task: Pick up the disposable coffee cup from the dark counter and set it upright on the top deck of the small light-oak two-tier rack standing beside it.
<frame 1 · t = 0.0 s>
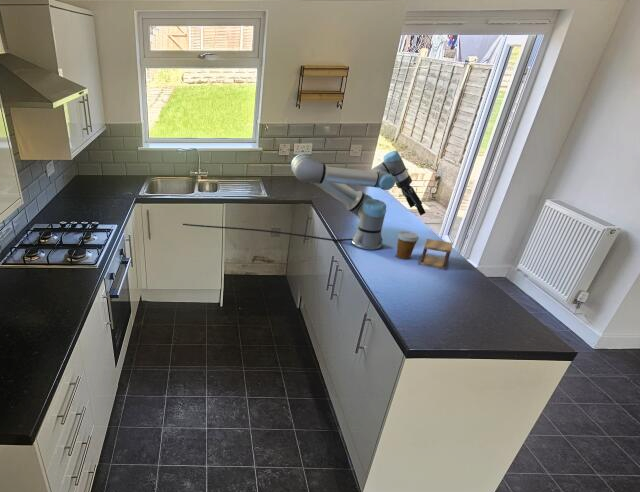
hand: (417, 210, 238), 15 cm above the countertop, tool tilted 35°, fingers open, 13 cm apart
disposable coffee cup: (402, 257, 221), on the countertop
oak rack: (433, 262, 215), on the countertop
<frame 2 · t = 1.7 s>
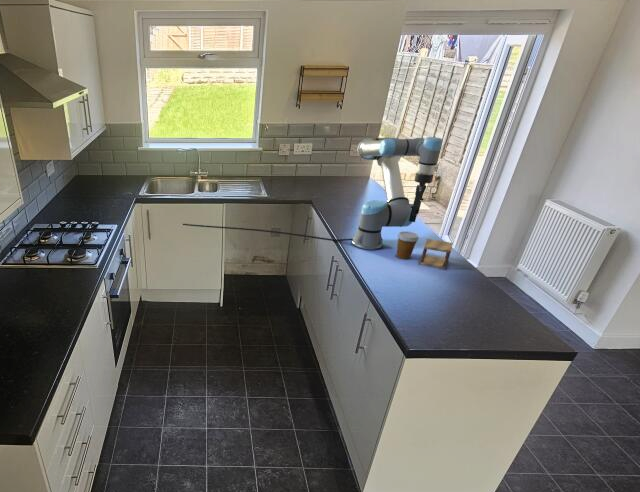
hand: (413, 217, 211), 21 cm above the countertop, tool pointing down, fingers open, 13 cm apart
nothing on the countertop moved.
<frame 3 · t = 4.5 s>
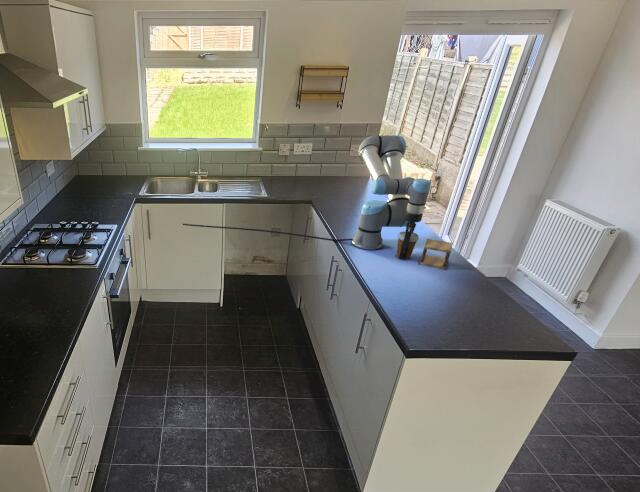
hand: (403, 255, 221), 1 cm above the countertop, tool pointing down, fingers closed on disposable coffee cup, 8 cm apart
disposable coffee cup: (402, 257, 221), on the countertop, touching gripper
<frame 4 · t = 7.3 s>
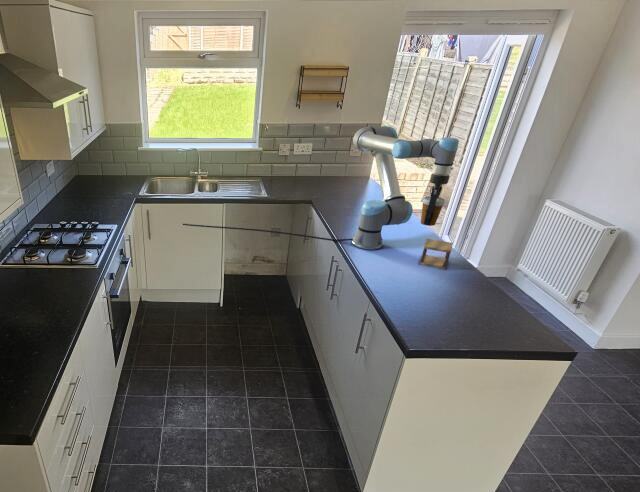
hand: (428, 222, 208), 20 cm above the countertop, tool pointing down, fingers closed on disposable coffee cup, 8 cm apart
disposable coffee cup: (427, 224, 208), point 19 cm above the countertop, touching gripper
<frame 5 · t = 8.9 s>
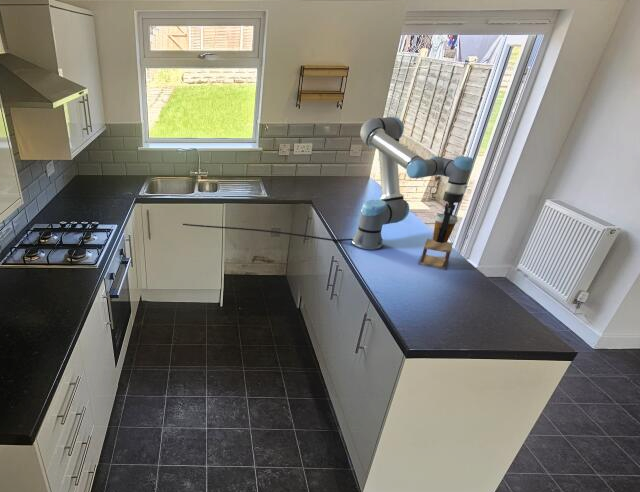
hand: (440, 239, 209), 12 cm above the countertop, tool pointing down, fingers closed on disposable coffee cup, 8 cm apart
disposable coffee cup: (439, 240, 209), point 11 cm above the countertop, touching gripper
when the fingers open (10 cm above the countertop, at t = 10.1 s): disposable coffee cup stays where it is, resting on oak rack.
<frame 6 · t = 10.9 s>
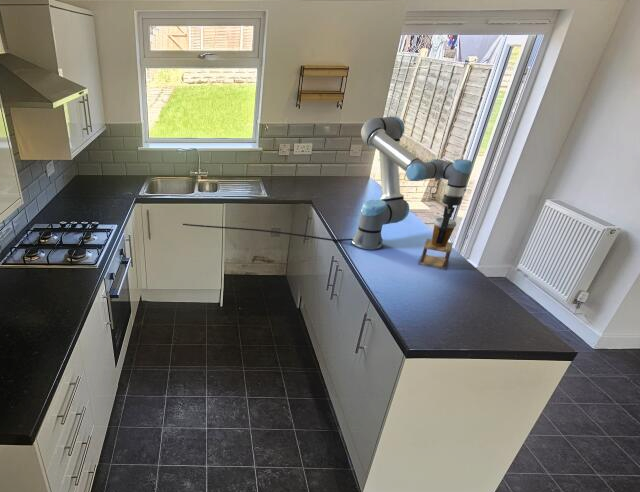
hand: (440, 238, 209), 12 cm above the countertop, tool pointing down, fingers open, 13 cm apart
disposable coffee cup: (438, 244, 210), point 9 cm above the countertop, touching oak rack
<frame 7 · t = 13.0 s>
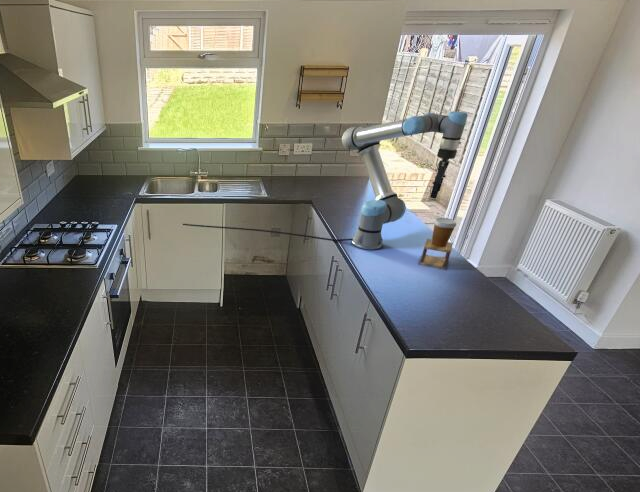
hand: (434, 194, 210), 31 cm above the countertop, tool pointing down, fingers open, 13 cm apart
nothing on the countertop moved.
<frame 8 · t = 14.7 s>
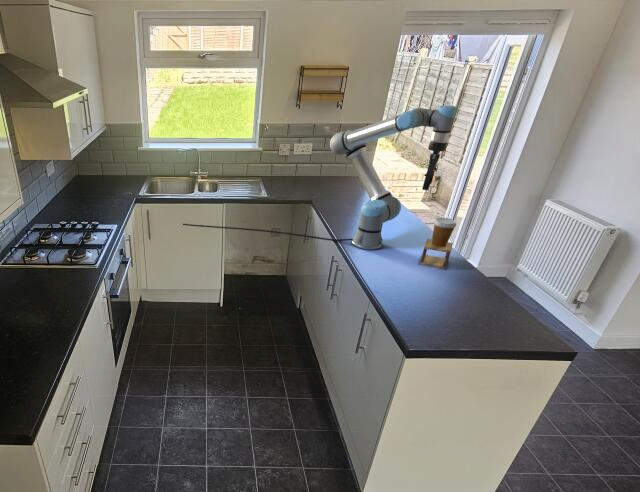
hand: (426, 186, 215), 33 cm above the countertop, tool pointing down, fingers open, 13 cm apart
nothing on the countertop moved.
at the end: disposable coffee cup 0.0 cm off-centre on the oak rack, point 9.4 cm above the oak rack's base; disposable coffee cup tilted 0°; the gripper is holding nothing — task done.
